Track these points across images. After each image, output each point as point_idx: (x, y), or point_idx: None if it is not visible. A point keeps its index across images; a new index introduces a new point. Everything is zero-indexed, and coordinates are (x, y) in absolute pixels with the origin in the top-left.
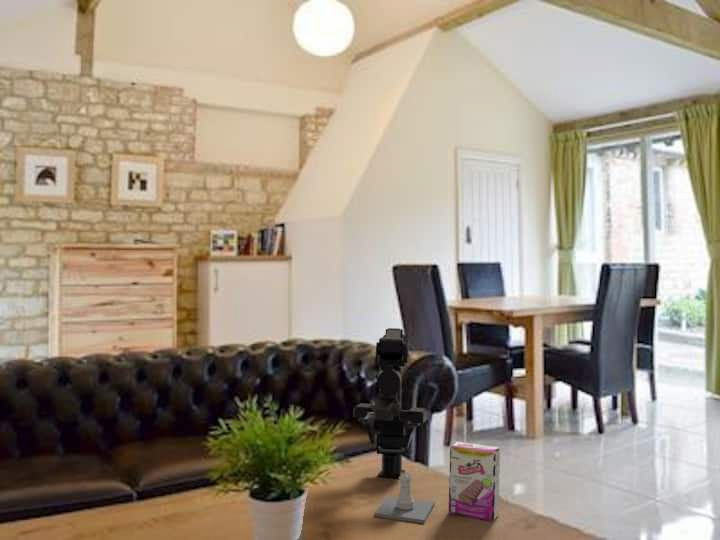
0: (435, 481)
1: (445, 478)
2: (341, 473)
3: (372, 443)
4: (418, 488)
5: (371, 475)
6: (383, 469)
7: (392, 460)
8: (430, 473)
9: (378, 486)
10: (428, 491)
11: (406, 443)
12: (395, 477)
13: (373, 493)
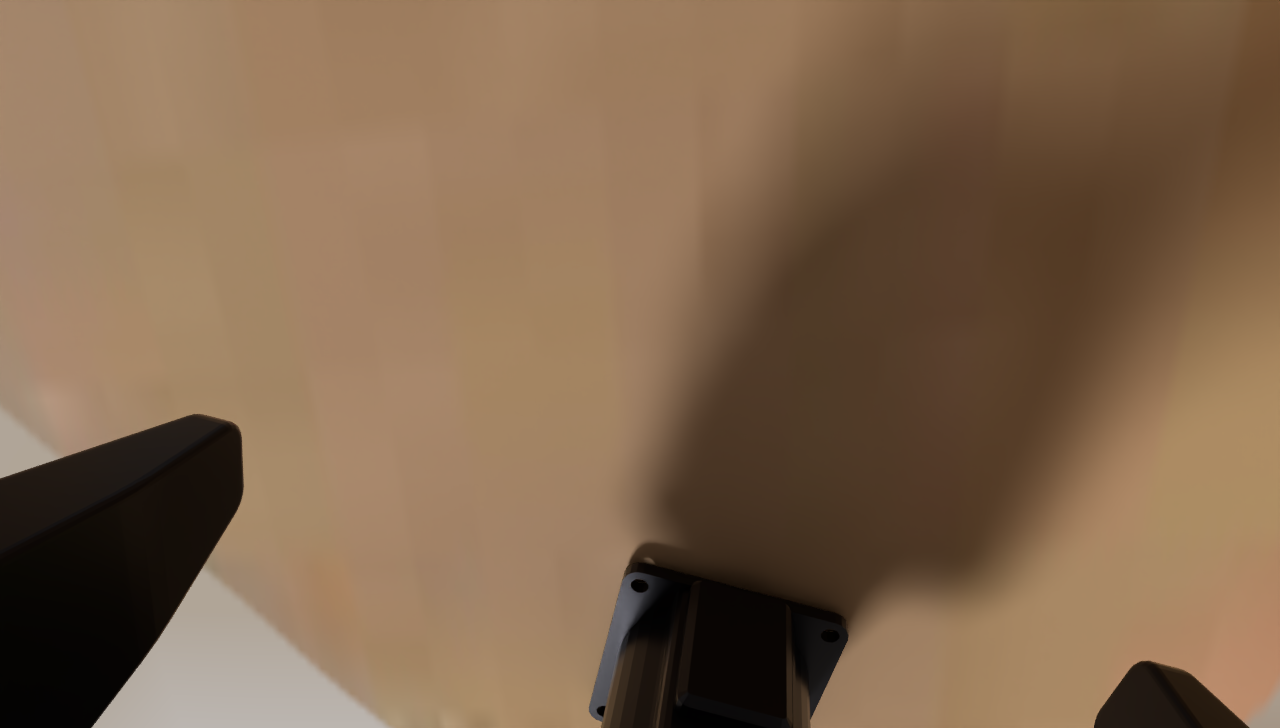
0: (306, 516)
1: (241, 581)
2: (1229, 689)
3: (1169, 682)
4: (427, 338)
5: (910, 641)
6: (792, 661)
7: (687, 723)
8: (381, 678)
9: (852, 367)
10: (317, 263)
11: (120, 469)
12: (671, 574)
13: (927, 139)
